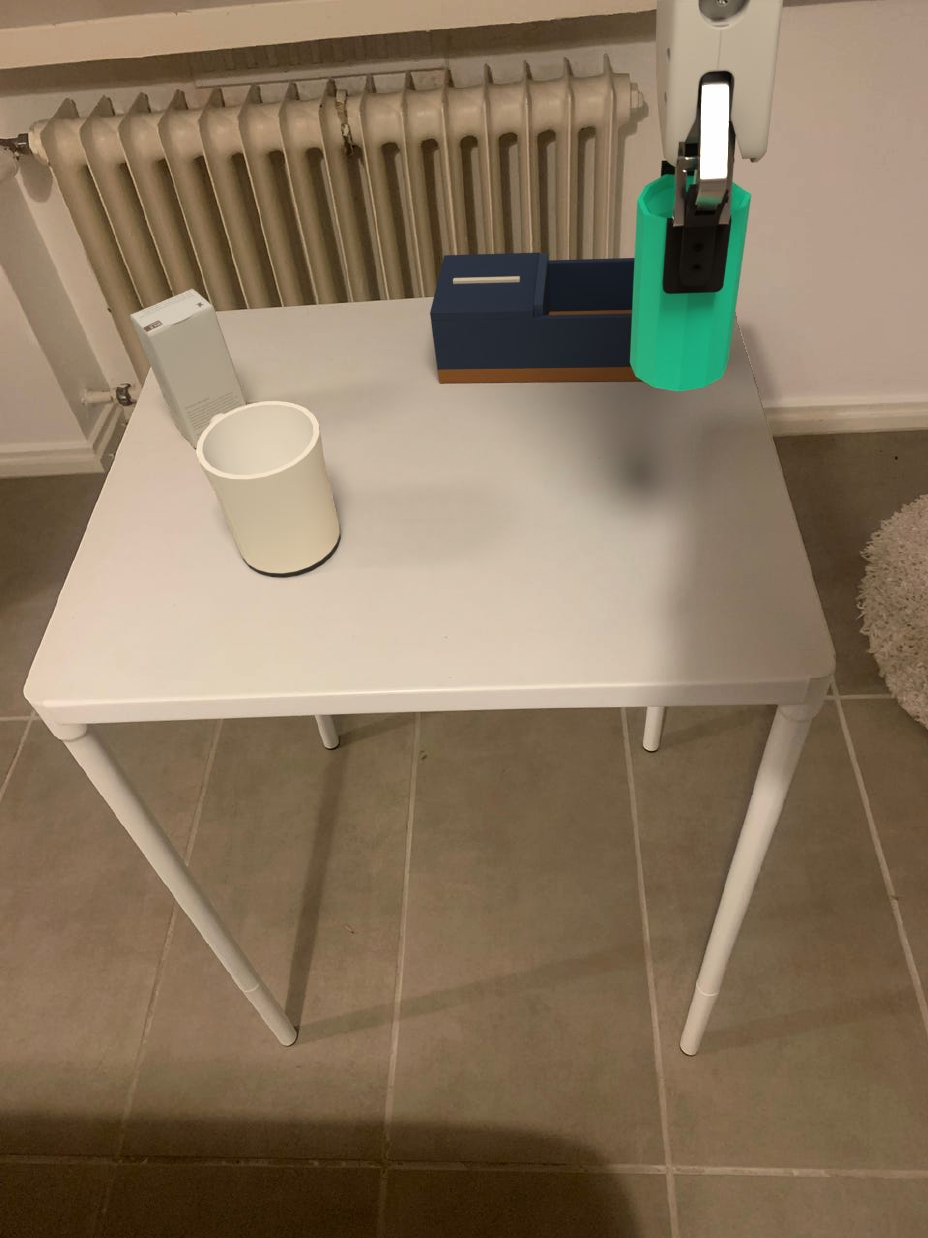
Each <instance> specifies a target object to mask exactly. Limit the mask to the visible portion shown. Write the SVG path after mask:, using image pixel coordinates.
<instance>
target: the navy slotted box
mask: <svg viewBox="0 0 928 1238" xmlns="http://www.w3.org/2000/svg"><path fill="white" fill-rule="evenodd" d="M634 261H635V257H620V258H618V257H616V258H584V259H582V258H581V259H580V258H579V259H549V253H548V252H546V253H545V252H544V253H540V252H538V251H537V252H510V253H509V252H507V253H478V254H475V253H474V254H444V255H443V259H442V262H441V266H440V271H439V274H438V279H437V283H436V287H435V291H434V295H433V298H432V300H433V301H432V302H431V307H430V311H429V316H430V324H431V331H432V332H431V333H432V339H433V346H434V347H433V348H434V355H435V363H436V369H437V376H438V377H437V378H438V383H439V384H480V383H483V384H484V383H486V384H487V383H488V384H489V383H491V384H492V383H493V384H494V383H496V384H497V383H567V382H568V383H575V382H576V383H577V382H578V383H580V382H586V383H587V382H590V383H591V382H643V381H642V380H641V379H639V378H637V377H636V376H635V374H634V371H633V369H632V366H631V364H630V349H631V327H632V305H633V283H634Z"/></svg>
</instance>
